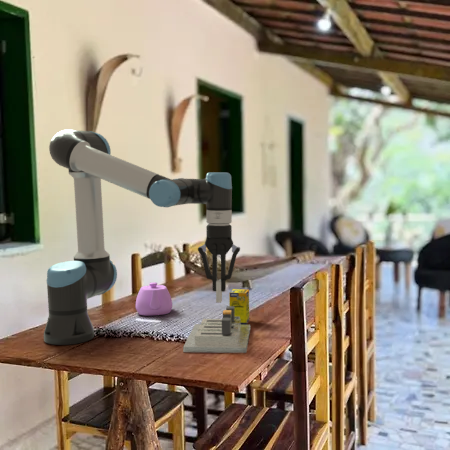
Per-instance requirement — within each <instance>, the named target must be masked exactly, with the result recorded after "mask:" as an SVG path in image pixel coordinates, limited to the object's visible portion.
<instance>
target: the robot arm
mask: <svg viewBox="0 0 450 450" xmlns="http://www.w3.org/2000/svg"><path fill="white" fill-rule="evenodd" d="M48 148H49V155H50V157H51V159H52V160H53V161H54V162H55V163H56V164H57V165H58V166H60V167H63V168H66V169H67V170H68V174H69V176H71V177H72V178H73V185H74V186H73V187H74V204H75V221H76V222H75V223H76V239H77V252H76V253H75V254H74V256H73V260H67V261H64V262H63V261H61V262H58V263H55V264H53V265H51V266H50V267H48V269H47V272H46V285H47V286H46V289H47V303H48V305H47V306H48V317H47V321H46V324H45V328H44V332H43V341H44V343H46V344H49V345H57V346H68V345H76V344H82V343H85V342H88V341H90V340H92V339H93V338H94V337H95V328H94V325H93V323H92V321H91V318H90V316H89V312H88V300H89V299H90V298H94V297H96V296H101V295H104V294H105V293H106V292H108V291H110V290H111V289H112V288H113V287H114V285H116V282H117V280H118V279H117V278H118V271H117V267H116V265H115V264H114V263H113V261H112V260H111V257H110V254H109V252H108V251H106V248H105V236H104V235H105V233H104V217H103V216H104V215H103V214H104V213H103V212H104V211H103V196H102V180H104V181H106V182H108V183H110V184H113V185H116V186H117V187H120V188H123V189H125V190H128V191H130V192H132V193H134V194H137V195H140V196H142V197H144V198H146V199H149V200H150V201H151V202H152V204H154V205H155V206H157V207H160V208H171V207H175V206H181V205H183V206H184V205H188V204H189V205H190V204H194V205H195V204H196V205H198V204H199V205H200V204H201V205H205V207H206V213H205V214H206V215H205V216H206V217H205V218H206V223H207V225H206V227H205V228H206V229H205V230H206V237H205V238H206V239H205V240H204V244H202V245H200V246H199V247H198V248H197V251H198V252H199V255H200V256H201V260H202V265H203V268H204V272H205V273H204V274H205V277H206V279H208V280H211V281H212V292H215V303H217V304H219V303H220V304H221V303H222V302H223V292H225V291H226V284H227V283H226V281H227V280H231V278H232V275H233V271H234V267H235V264H236V260H237V259H236V258H237V256H238V254H239V252H240V251H241V247H240V246H236V245H235V244H234V241H233V238H232V228H233V227H232V225H231V224H232V223H233V221H232V220H233V217H232V214H233V213H232V212H233V211H232V208H233V207H232V202H233V199H232V197H233V196H232V195H233V193H232V191H233V186H232V185H233V184H232V175H231V174H230V173H229V172H221V171H220V172H214V171H213V172H210V171H209V172H207V173H206V175H205V178H184V177H181V178H169V177H166V176H164V175H161V174H159V173H156V172H154V171H152V170H149V169H146V168H144V167H142V166H139V165H136V164H134V163H132V162H129V161H126V160H124V159H121V158H119V157H117V156H114V155H112V154H111V146H110V143H109V142H108V140H107V138H106V137H104V136H103V135H102V134H101V133H98V132H95V131H92V130H76V129H63V130H60V131H59V132H56V134H54V136H53V137H52V138H51V139H50V142H49V146H48ZM207 251H209V253H210V254H211V255H212V256H211V259H212V261H211V262H212V264H211V266H212V267H211V268H212V270H211V269H210V263H209V259H208V256H207ZM229 251H231V253H232V255H231V259H230V264H229V267H228V271H227V270H226V269H227V268H226V267H227V264H226V262H227V261H226V258H227V254H228V252H229ZM218 256H220V279H218ZM211 271H212V272H211ZM226 271H227V274H226Z"/></svg>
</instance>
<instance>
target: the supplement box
mask: <svg viewBox="0 0 450 450" xmlns="http://www.w3.org/2000/svg"><path fill="white" fill-rule="evenodd" d="M228 297H229V298H228V300H229V301H228V302H229V306H234V309H235V319H241V325H248V323H249V321H250V289H246V288H245V289H241V288H238V289H237V288H233V289H232V290H231V291H230V292H229V293H228Z"/></svg>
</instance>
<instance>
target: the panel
mask: <svg viewBox="0 0 450 450" xmlns="http://www.w3.org/2000/svg"><path fill="white" fill-rule="evenodd" d="M250 333H251V324H247V325H241V319H234V321H232V325H231V333H230V334H222V318H203V319H202V321H201V322H200V323H195V324H194V325H193V328H192V329H191V331H190V333H189V335H188V337H187V339H186V340H185V343H184V344H183V348H182V349H183V350H182V352H183V353H211V354H212V353H214V354H215V353H222V354H230V353H231V354H247V351H248V345H249V339H250Z"/></svg>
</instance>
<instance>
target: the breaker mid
mask: <svg viewBox="0 0 450 450" xmlns="http://www.w3.org/2000/svg"><path fill="white" fill-rule="evenodd" d="M222 318H231V325H232V311H231V310H226V309H223V311H222Z"/></svg>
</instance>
